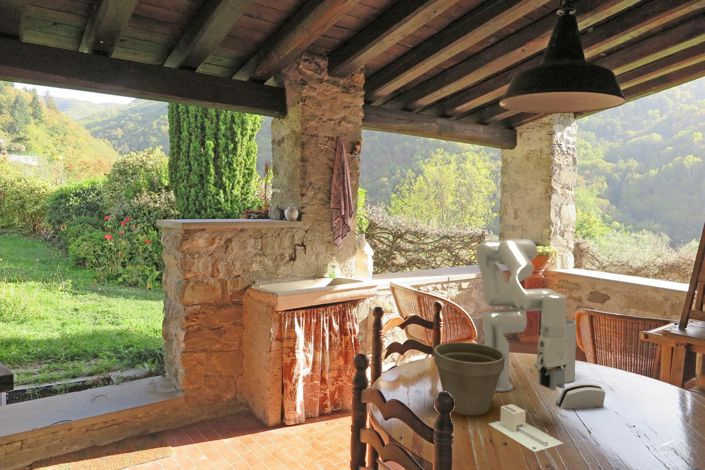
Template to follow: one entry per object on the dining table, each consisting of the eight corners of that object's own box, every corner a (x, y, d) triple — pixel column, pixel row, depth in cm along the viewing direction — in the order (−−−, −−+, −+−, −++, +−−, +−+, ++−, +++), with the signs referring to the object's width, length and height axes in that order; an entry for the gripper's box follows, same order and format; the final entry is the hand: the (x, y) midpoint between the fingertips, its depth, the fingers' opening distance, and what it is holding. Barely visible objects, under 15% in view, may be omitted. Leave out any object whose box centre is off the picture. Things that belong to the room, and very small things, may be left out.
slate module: (538, 384, 157) (539, 365, 156) (549, 381, 159) (550, 363, 159) (553, 390, 151) (553, 371, 151) (564, 388, 154) (564, 369, 153)
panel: (488, 427, 156) (488, 420, 156) (515, 420, 161) (515, 413, 161) (534, 455, 138) (534, 447, 138) (563, 447, 143) (563, 439, 143)
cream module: (500, 424, 155) (500, 405, 155) (511, 421, 158) (512, 403, 157) (513, 431, 150) (513, 412, 150) (525, 428, 152) (525, 410, 152)
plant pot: (516, 409, 170) (517, 350, 169) (482, 432, 152) (482, 367, 151) (456, 391, 187) (457, 337, 186) (419, 409, 170) (420, 350, 169)
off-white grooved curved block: (594, 400, 178) (601, 379, 174) (602, 409, 173) (609, 388, 169) (554, 403, 175) (560, 382, 171) (561, 412, 171) (567, 390, 167)
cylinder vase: (537, 377, 202) (538, 320, 201) (551, 371, 210) (552, 316, 209) (566, 385, 193) (567, 326, 191) (579, 378, 201) (581, 321, 199)
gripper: (543, 336, 147) (541, 393, 148) (581, 330, 154) (579, 384, 155) (525, 330, 154) (523, 384, 155) (562, 325, 161) (560, 376, 162)
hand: (551, 383), depth 155 cm, fingers closed on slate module, 5 cm apart
